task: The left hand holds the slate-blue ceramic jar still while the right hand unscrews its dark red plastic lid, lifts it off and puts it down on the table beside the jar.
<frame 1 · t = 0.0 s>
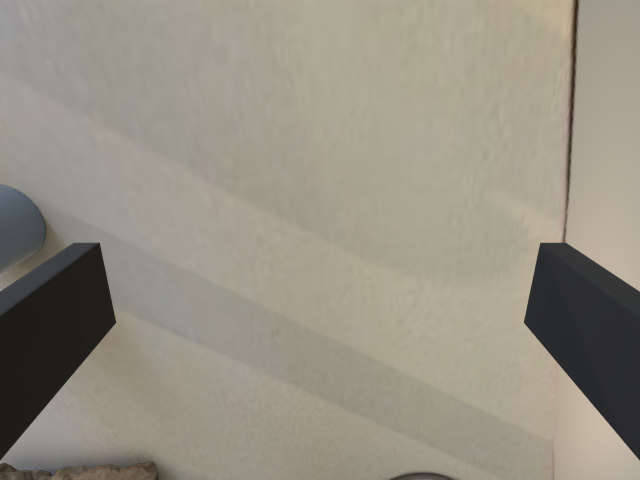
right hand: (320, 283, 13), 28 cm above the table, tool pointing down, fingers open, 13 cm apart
jar: (4, 223, 41), on the table
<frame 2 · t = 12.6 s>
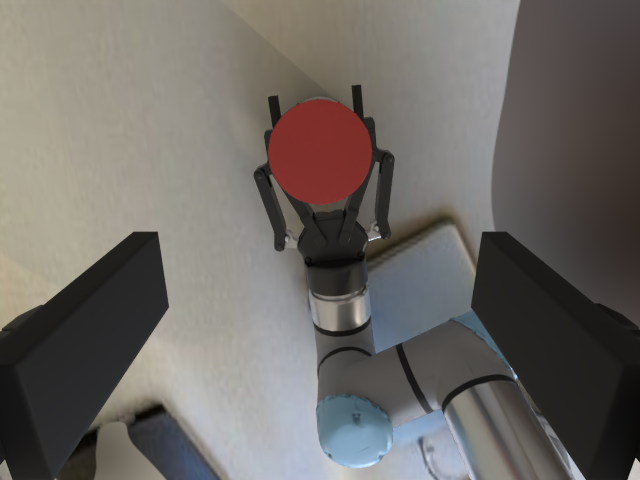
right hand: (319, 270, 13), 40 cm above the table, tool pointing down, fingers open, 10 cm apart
left hand: (314, 91, 43), fingers closed on jar, 8 cm apart
lid: (320, 153, 35), point 17 cm above the table, screwed on, not yet turned
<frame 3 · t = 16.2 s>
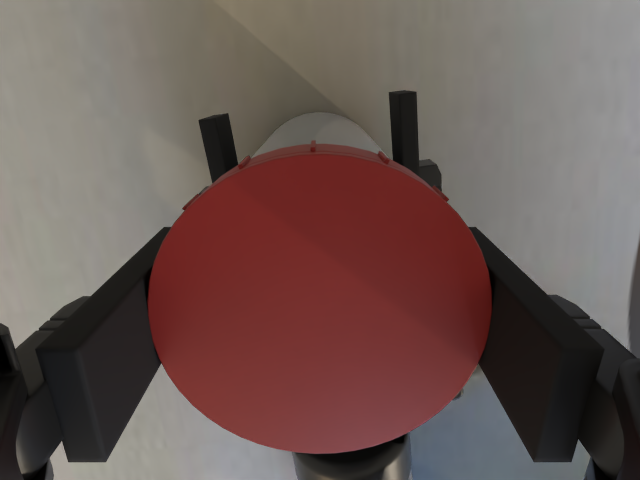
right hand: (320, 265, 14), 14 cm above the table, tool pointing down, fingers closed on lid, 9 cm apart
jar: (319, 177, 27), on the table, touching left hand
lid: (319, 319, 11), point 17 cm above the table, screwed on, not yet turned, touching right hand
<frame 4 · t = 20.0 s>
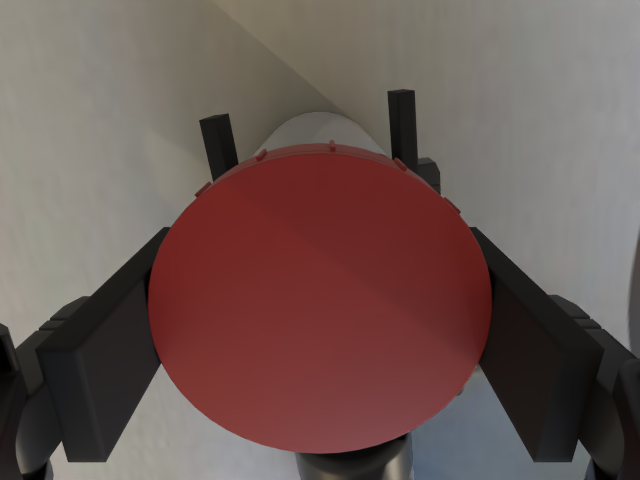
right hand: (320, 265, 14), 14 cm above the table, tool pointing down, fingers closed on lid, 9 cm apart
jar: (319, 176, 27), on the table, touching left hand
lid: (319, 318, 11), point 17 cm above the table, turned 129° so far, risen 0.2 cm, still on its thread, touching right hand
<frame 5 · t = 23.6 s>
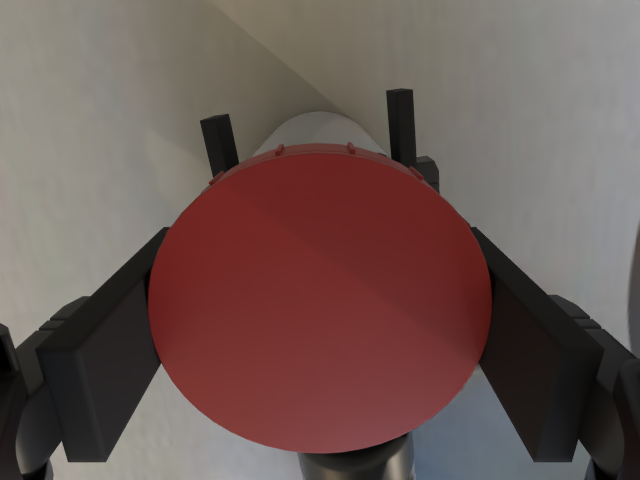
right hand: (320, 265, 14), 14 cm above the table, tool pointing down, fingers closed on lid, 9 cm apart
jar: (319, 175, 27), on the table, touching left hand
lid: (319, 318, 11), point 17 cm above the table, turned 257° so far, risen 0.4 cm, still on its thread, touching right hand
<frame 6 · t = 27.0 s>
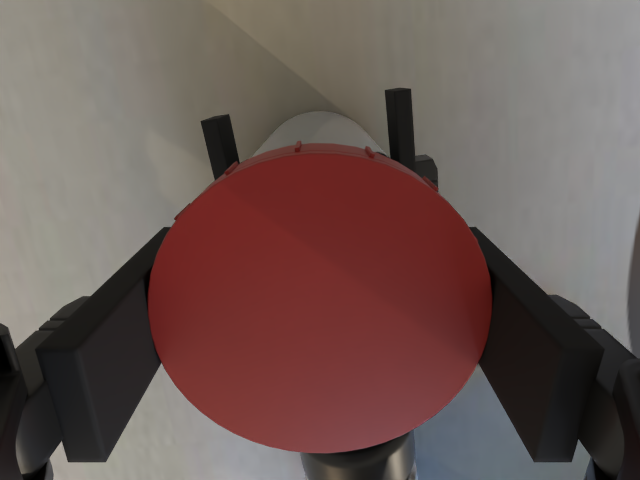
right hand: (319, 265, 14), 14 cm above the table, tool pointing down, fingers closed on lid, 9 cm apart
jar: (319, 174, 27), on the table, touching left hand
lid: (319, 318, 11), point 18 cm above the table, turned 386° so far, risen 0.6 cm, still on its thread, touching right hand
when the right hand's fingers open (0 cm above the table, at t = 35.7 s): lid drops 2 cm, point 1 cm above the table.
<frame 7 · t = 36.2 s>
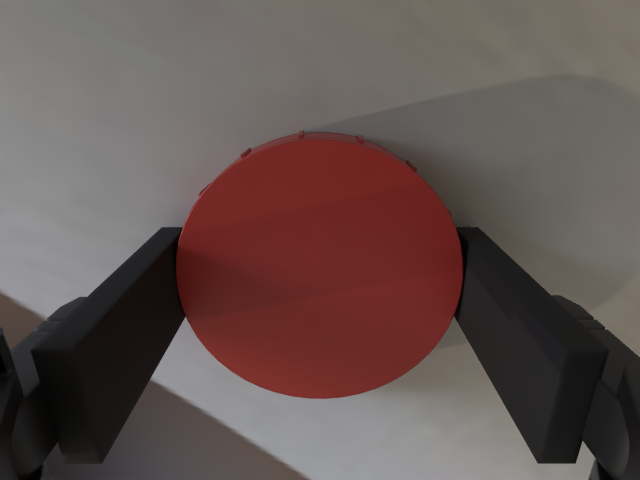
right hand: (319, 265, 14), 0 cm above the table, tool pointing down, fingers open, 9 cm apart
lid: (319, 280, 13), point 1 cm above the table, off its thread, touching right hand
when the left hand's fingers open (6 cm above the table, at t = 37.4 s): jar stays where it is, on the table.
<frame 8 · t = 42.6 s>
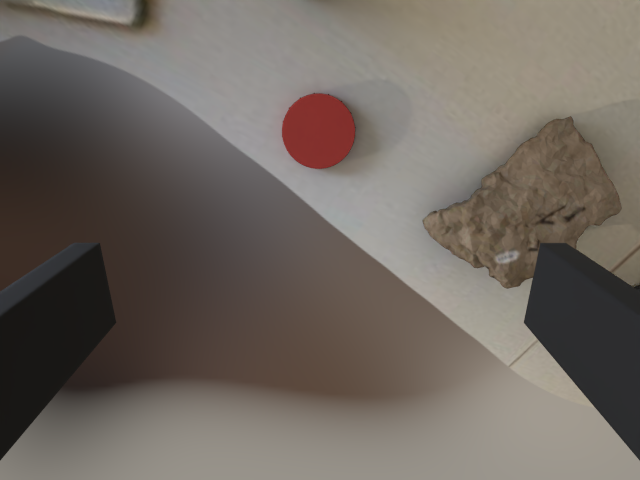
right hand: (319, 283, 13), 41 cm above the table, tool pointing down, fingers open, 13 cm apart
lid: (318, 132, 49), point 1 cm above the table, off its thread
stone: (513, 203, 54), on the table
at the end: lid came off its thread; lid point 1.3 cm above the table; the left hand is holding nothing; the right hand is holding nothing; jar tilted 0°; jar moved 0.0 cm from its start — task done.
